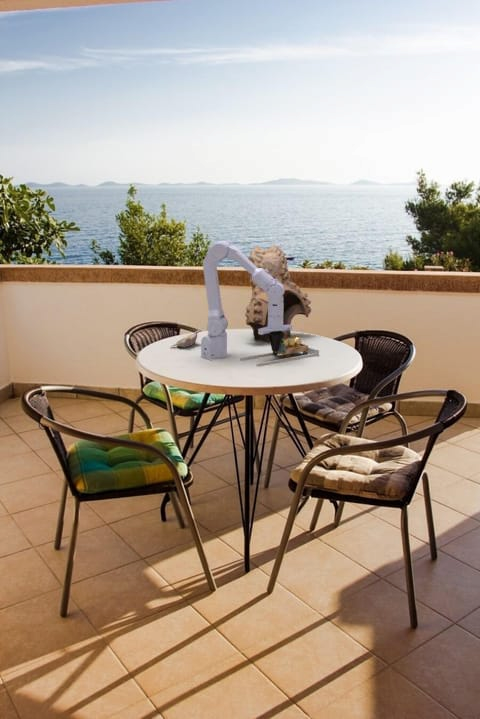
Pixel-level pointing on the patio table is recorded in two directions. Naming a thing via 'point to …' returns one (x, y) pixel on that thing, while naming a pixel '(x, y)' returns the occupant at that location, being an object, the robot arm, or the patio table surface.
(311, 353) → the track
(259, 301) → the bust
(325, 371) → the patio table surface
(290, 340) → the part
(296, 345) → the part
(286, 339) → the part
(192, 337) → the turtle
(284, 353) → the cart
